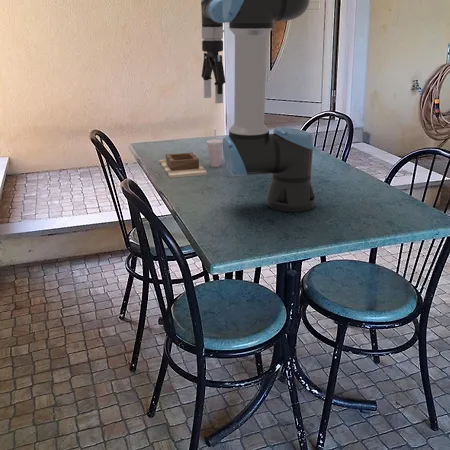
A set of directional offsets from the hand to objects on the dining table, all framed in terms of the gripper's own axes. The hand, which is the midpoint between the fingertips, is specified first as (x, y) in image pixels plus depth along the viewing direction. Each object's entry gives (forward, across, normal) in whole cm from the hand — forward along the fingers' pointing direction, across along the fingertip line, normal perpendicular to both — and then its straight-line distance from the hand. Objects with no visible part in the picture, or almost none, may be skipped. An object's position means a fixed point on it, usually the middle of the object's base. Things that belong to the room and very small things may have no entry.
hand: (213, 100), depth 195 cm
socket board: (+25, 0, +12) cm, 28 cm away
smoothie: (+25, 0, 0) cm, 25 cm away
